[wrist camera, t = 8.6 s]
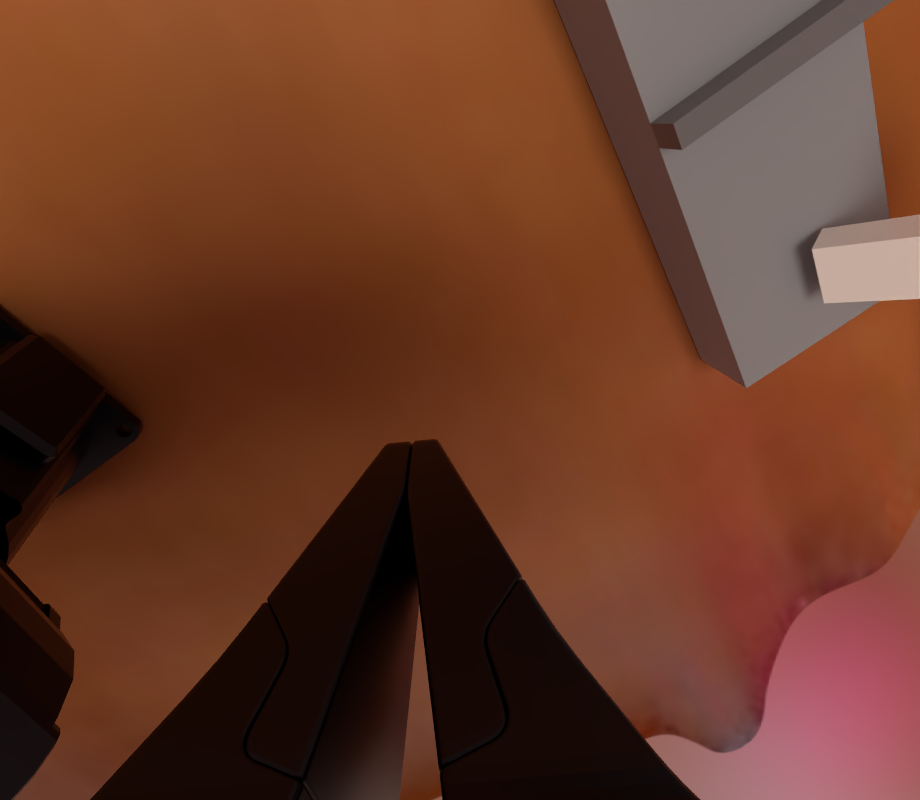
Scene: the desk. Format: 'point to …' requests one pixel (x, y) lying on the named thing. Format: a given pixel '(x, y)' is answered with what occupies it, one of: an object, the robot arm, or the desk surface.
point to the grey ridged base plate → (740, 155)
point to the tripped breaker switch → (869, 261)
